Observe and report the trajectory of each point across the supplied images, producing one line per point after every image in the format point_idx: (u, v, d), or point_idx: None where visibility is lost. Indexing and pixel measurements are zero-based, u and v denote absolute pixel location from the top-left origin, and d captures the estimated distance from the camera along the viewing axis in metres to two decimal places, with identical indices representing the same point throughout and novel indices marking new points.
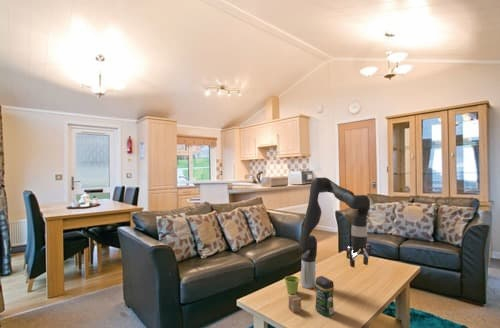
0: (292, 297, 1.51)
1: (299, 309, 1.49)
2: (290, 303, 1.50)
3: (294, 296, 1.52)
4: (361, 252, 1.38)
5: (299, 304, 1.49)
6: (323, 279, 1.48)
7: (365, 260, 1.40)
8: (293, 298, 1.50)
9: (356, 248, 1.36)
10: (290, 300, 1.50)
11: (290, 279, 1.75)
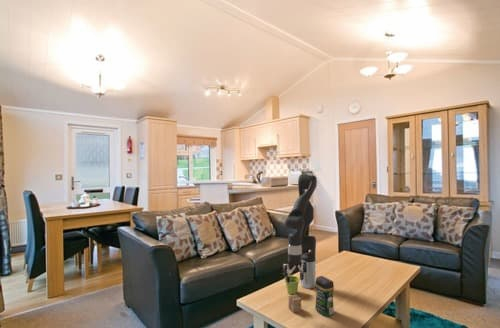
0: (292, 297, 1.51)
1: (299, 309, 1.49)
2: (290, 303, 1.50)
3: (294, 296, 1.52)
4: (296, 269, 1.50)
5: (299, 304, 1.49)
6: (323, 279, 1.48)
7: (301, 276, 1.52)
8: (293, 298, 1.50)
9: (291, 265, 1.49)
10: (290, 300, 1.51)
11: (290, 279, 1.75)
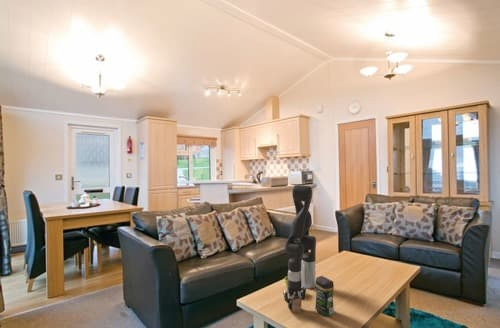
0: None
1: (299, 309, 1.49)
2: None
3: None
4: (295, 294, 1.50)
5: (299, 304, 1.49)
6: (323, 279, 1.48)
7: None
8: None
9: (291, 292, 1.49)
10: None
11: None
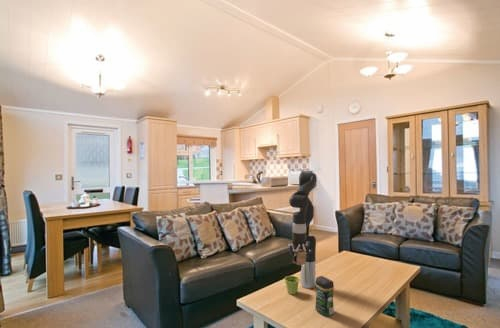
0: None
1: (304, 262, 1.49)
2: None
3: None
4: (300, 247, 1.50)
5: (304, 257, 1.49)
6: (323, 279, 1.48)
7: None
8: (298, 251, 1.49)
9: (295, 244, 1.49)
10: None
11: (290, 279, 1.75)
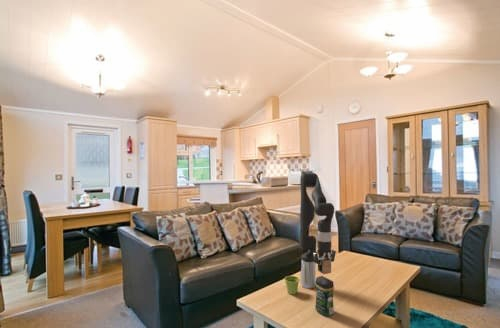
0: None
1: (329, 270, 1.47)
2: None
3: (324, 258, 1.50)
4: (325, 255, 1.48)
5: (329, 265, 1.47)
6: (323, 279, 1.48)
7: None
8: None
9: (321, 253, 1.47)
10: None
11: (290, 279, 1.75)
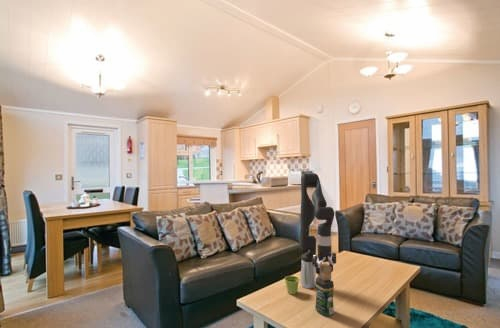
0: (322, 265, 1.49)
1: (329, 277, 1.47)
2: (320, 271, 1.48)
3: (324, 264, 1.50)
4: (326, 260, 1.48)
5: (329, 272, 1.47)
6: None
7: None
8: (323, 266, 1.48)
9: (321, 256, 1.47)
10: (320, 268, 1.48)
11: (290, 279, 1.75)
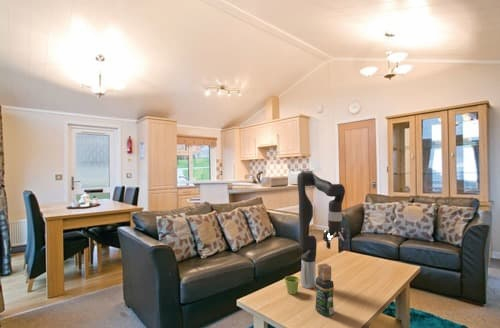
0: (322, 265, 1.49)
1: (329, 277, 1.47)
2: (320, 271, 1.48)
3: (324, 264, 1.50)
4: (336, 235, 1.53)
5: (329, 272, 1.47)
6: None
7: (340, 243, 1.55)
8: (323, 266, 1.48)
9: (332, 231, 1.52)
10: (320, 268, 1.48)
11: (290, 279, 1.75)
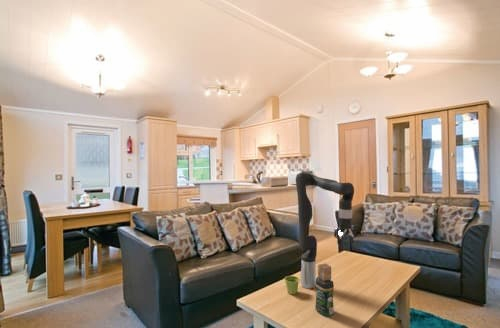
0: (322, 265, 1.49)
1: (329, 277, 1.47)
2: (320, 271, 1.48)
3: (324, 264, 1.50)
4: (347, 232, 1.58)
5: (329, 272, 1.47)
6: None
7: (351, 239, 1.60)
8: (323, 266, 1.48)
9: (342, 228, 1.57)
10: (320, 268, 1.48)
11: (290, 279, 1.75)
